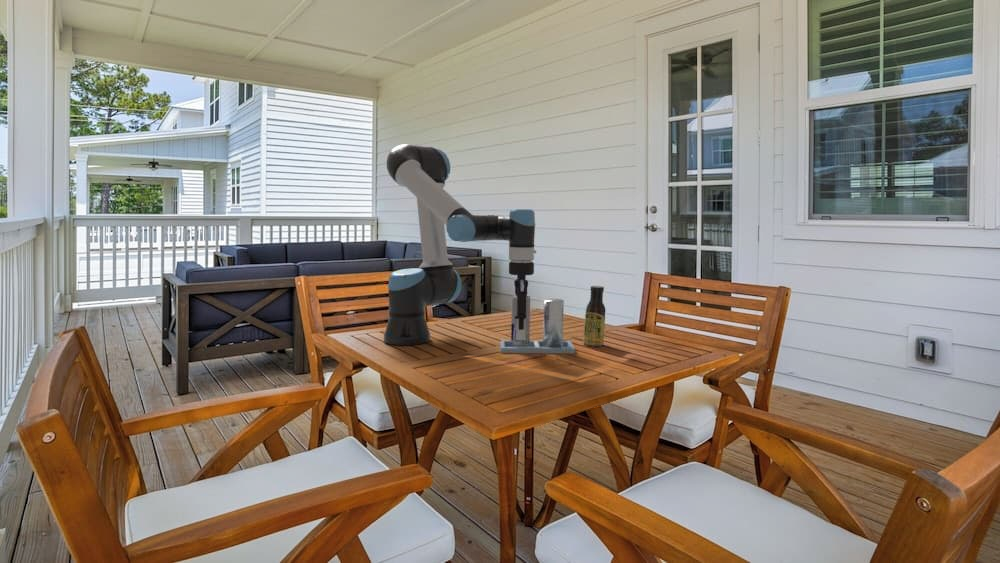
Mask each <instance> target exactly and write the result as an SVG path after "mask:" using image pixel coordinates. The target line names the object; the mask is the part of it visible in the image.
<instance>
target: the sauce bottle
mask: <svg viewBox="0 0 1000 563" xmlns="http://www.w3.org/2000/svg"><path fill="white" fill-rule="evenodd" d="M604 291H605V288H604V286H602V285H590V300H589V302H588V303H587V305H586V307H585V308H586V309H585V314H584V317H585V318H584V328H583V346H585V347H589V348H601V347H603V346H604V339H605V327H606V326H605V323H606V322H605V321H606V306H605V304H604V301H603V300H604V298H603V297H604Z"/></svg>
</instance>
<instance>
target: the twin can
mask: <svg viewBox="0 0 1000 563" xmlns="http://www.w3.org/2000/svg"><path fill="white" fill-rule="evenodd" d="M564 303H565V302H564V299H561V298H545V299H543V317H542V318H543V320H542V321H543V323H542V324H543V327H542V330H543V333H542V341H543V347H548V348H563V341H564Z"/></svg>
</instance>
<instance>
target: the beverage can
mask: <svg viewBox="0 0 1000 563" xmlns="http://www.w3.org/2000/svg"><path fill="white" fill-rule="evenodd" d="M520 314H523V313H520ZM515 316H517V296H516V295H512V296H511V321H510V322H511V324H510V326H511V327H510V328H511V329H510V330H511V332H510V336H511V337H510V340H511V344H512V345H514V346H527V345H529V344H530V341H531V340H530V336H531V335H530V333H531V296H529V295H527V296H526V331H525V340H516V319H515Z"/></svg>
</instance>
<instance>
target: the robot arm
mask: <svg viewBox="0 0 1000 563" xmlns="http://www.w3.org/2000/svg"><path fill="white" fill-rule="evenodd" d="M386 169H387V172H388V175H389V176H390V178H392V180H393V181H394V182H395V183H396V184H398V186H400V187H403V188H406V189H407V190H408V191H409V192H411V193H412V195H413V196H415V197H416V203H417V204H416V205H417V216H418V225H419V233H420V234H419V235H420V244H421V255H422V263H421V264H420V265H419V266H418V268H417V267H416V268H415V267H414V268H413V267H411V268H403V269H399V270H396V271H393V272H391V273H390V274H389V276H388V284H387V288H388V321H387V323H386V328H385V331H384V333H383V342H384V343H386V344H389V345H395V346H415V345H422V344H425V343H428V342H430V340H431V331H429V327H428V323H427V320H426V317H425V316H426V313H425V311H426V310H425V308H426V307H429V306H436V305H445V304H447V303H452V302H453V301H455V300H456V299H457V298H458V296H459V295H460V293H461V290H462V279H461V275H460V274H459V273H458V271H456V270H455V269H454V266H453V263H452V262H451V261H450V260H449V258H448V257H449V256H448V250H447V239H446V232H447V234H448V235H447V236H448V237H449V239H451V241H455V242H460V243H461V242H462V243H467V242H476V241H478V242H480V241H481V242H482V241H483V242H484V241H508V260H509V263H508V273H509V275H512V276H516V279H514V284H513V285H514V294H515V296H517V316H515V319H516V340H525V331H526V296H528V286H529V281H528V279H526V278H527V277H526V276H533V275H534V274H535V263H534V262H533V261H534V260H535V254H537V250H536V249H535V235H536V232H535V231H536V230H535V229H536V216H535V214H536V213H535V211H534V210H533V209H529V208H527V209H526V208H524V209H522V208H521V209H518V208H514V209H510V211H509V214H508V215H494V214H492V215H491V214H486V215H475V214H472V213H471V212H469V210H467V209H466V208H465V207H464V206H463V205H462V204H461V203H459V201H458V200H456V199H455V198H454V197H453V196H452V195H451V194H450V193H449V192H447V191H446V189H444V187H445V186H446V181H447V179H449V175H450V174H451V162H450V159H449V157H448V155H447V154H446V153H445V152H444V151H443V150H441V149H440V148H435V147H433V146H420V145H412V144H407V143H404V144H400V145H397V146H396V147H394V148H392V149H391V150H390V151H389V153H388V155H387V158H386ZM445 227H446V228H445ZM520 313H523V314H520Z"/></svg>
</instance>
